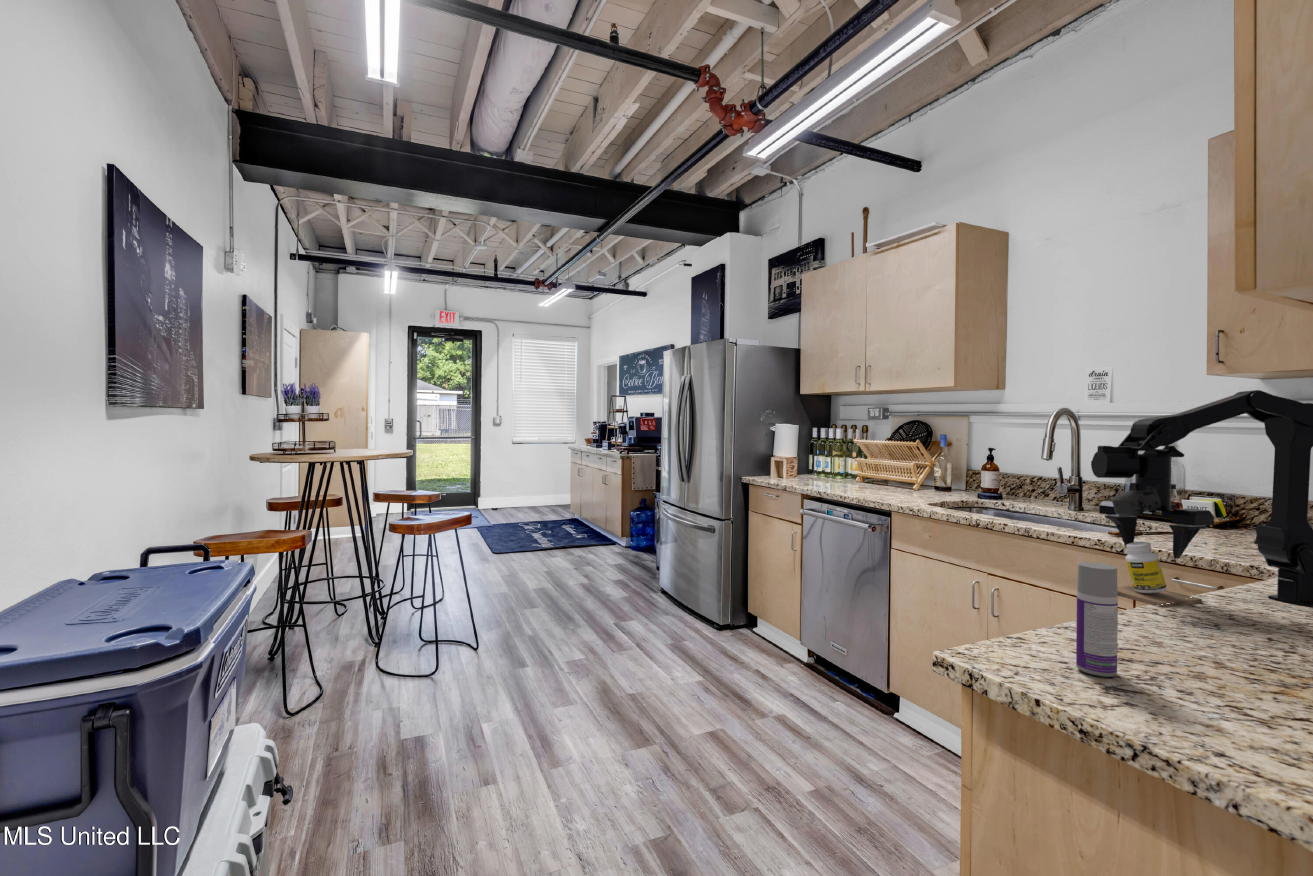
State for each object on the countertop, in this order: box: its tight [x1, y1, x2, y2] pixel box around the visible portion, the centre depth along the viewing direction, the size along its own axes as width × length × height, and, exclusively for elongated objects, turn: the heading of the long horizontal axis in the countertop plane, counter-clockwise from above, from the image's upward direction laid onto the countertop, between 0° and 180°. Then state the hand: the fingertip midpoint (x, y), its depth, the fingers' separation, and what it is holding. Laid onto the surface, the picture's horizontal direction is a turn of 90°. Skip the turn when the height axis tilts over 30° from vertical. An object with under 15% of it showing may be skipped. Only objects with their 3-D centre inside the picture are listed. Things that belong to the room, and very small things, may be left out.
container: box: [1075, 561, 1119, 678], centre depth 83 cm, size 5×5×15 cm
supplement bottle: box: [1125, 541, 1168, 593], centre depth 122 cm, size 5×5×10 cm
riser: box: [1117, 585, 1203, 608], centre depth 121 cm, size 11×11×2 cm
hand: (1152, 553), depth 121 cm, fingers open, 9 cm apart
